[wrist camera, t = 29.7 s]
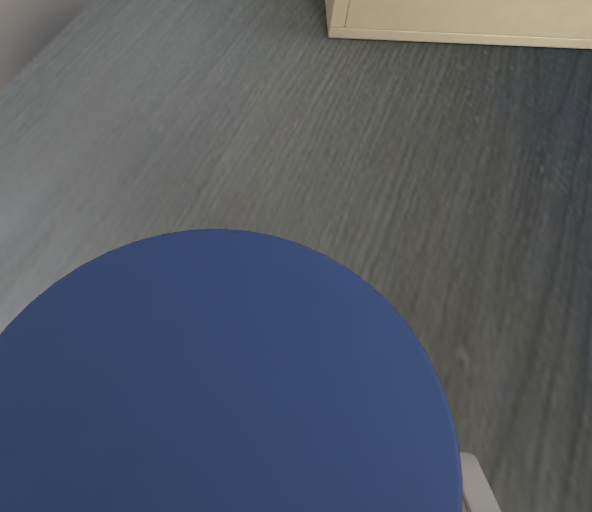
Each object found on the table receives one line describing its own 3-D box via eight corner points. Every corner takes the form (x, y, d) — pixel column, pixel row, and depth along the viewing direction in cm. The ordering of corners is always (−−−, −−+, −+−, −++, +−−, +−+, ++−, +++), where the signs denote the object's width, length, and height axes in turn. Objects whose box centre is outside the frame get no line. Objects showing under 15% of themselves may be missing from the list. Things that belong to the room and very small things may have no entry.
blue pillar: (109, 644, 12) (-171, 829, 4) (136, 404, 14) (-2, 223, 6) (344, 632, 12) (519, 780, 4) (329, 402, 15) (424, 229, 7)
